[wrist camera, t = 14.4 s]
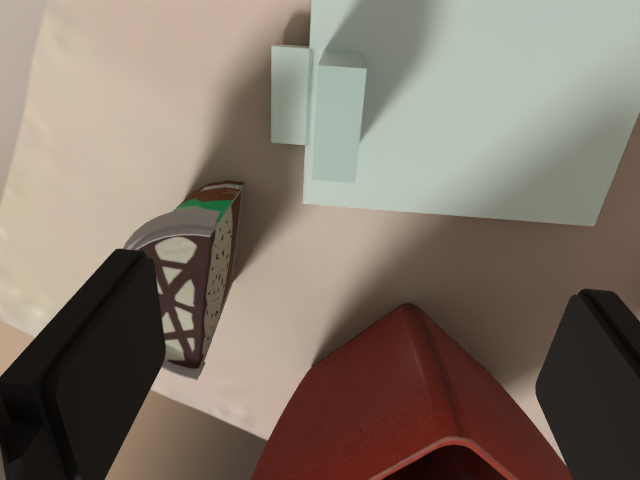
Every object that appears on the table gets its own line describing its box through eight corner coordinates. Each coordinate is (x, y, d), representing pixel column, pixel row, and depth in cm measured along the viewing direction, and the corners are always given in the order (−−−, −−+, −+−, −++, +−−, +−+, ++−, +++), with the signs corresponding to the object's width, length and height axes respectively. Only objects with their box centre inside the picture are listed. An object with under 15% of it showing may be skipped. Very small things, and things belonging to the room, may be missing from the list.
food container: (163, 146, 33) (96, 204, 25) (247, 163, 34) (210, 227, 25) (159, 283, 39) (104, 368, 31) (230, 297, 40) (196, 385, 31)
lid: (664, -10, 27) (776, -8, 20) (580, 212, 34) (641, 273, 27) (277, -36, 28) (251, -42, 20) (274, 189, 35) (255, 242, 28)
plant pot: (549, 382, 42) (654, 595, 28) (390, 467, 49) (406, 671, 35) (416, 251, 36) (460, 433, 22) (257, 369, 44) (210, 565, 29)
